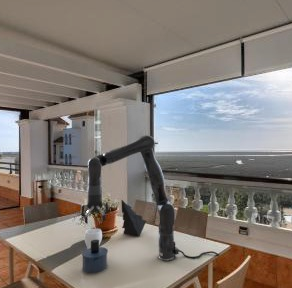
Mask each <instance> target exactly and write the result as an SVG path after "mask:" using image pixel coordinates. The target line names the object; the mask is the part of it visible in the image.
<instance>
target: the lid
mask: <svg viewBox="0 0 292 288" xmlns="http://www.w3.org/2000/svg"><path fill="white" fill-rule="evenodd" d="M108 252H109V250H108V249H107V248H106V247H103V246H100V245H99V240H92V241H91V248H89V249H85V250H84V251H82V252H81V256H82V258H83V257H85V258H98V257H101V256H104V255H106V254H107V255H108Z"/></svg>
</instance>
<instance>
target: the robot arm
mask: <svg viewBox="0 0 292 288" xmlns="http://www.w3.org/2000/svg"><path fill="white" fill-rule="evenodd" d="M155 144H156V141H155V138H154V137H152V136H151V135H148V134H146V135H142V136H140V137H139V138H138V139H137V140H136V141H133V142H132V143H128V144H126V145H123V146H120V147H117V148H114V149H111V150H109V151H106V152H104V153H101V154H99V155H96V156H93V157H91V158H89V160H88V161H87V169H88V173H87V174H88V177H87V204H81V210H80V216H81V217H84V224H86V225H88V221H89V220H88V216H89V215H90V214H91V213H98V212H100V213H101V222H102V223H104V222H105V220H106V215H108V214H109V204H108V202H107V201H106V202H103V189H102V188H103V187H102V168H103V167H105V166H107V165H111V164H113V163H117V162H119V161H122V160H124V159H125V158H128V157H130V156H132V155H135V154H138V153H140V154H141V157H142V160H143V163H144V168H145V172H146V176H147V179H148V183H149V185H150V188H151V191H152V193H153V195H154V200H155V204H156V209H157V213H158V214H159V224H158V259H160V260H161V261H163V262H168V261H172V260H174V259H176V255H179V253H181V254H182V255H183V257H185V258H187V259H198V258H199V259H200V258H201V257H202V256H203V255H207V254H214V255H216V256H220V254H218V252H216V251H213V250H212V251H203V252H201V253H200V254H199V255H196V256H190V255H187V254H185V253H184V251H183V250H181V249H179V248H178V247H177V246H176V241H175V224H176V210H175V206H174V204H172V203H171V202H170V200H169V198H168V195H167V191H166V181H165V177H164V174H163V170H162V168H161V165H160V163H159V162H158V161H157V158H156V156H155V153H154V147H155ZM102 207H103V208H104V210H103V209H102ZM86 208H87V211H86V212H85V210H86ZM222 279H223V280H224V277H223V276H221V278H220V280H222Z"/></svg>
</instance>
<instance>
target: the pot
mask: <svg viewBox="0 0 292 288" xmlns="http://www.w3.org/2000/svg"><path fill="white" fill-rule="evenodd" d="M107 267H108V253H107V254H106V255H104V256H101V257H98V258H85V257H83V256H82V272H84V273H86V274H97V273H101V272H103V271H105V270H106V269H107Z"/></svg>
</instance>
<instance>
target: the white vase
mask: <svg viewBox="0 0 292 288" xmlns="http://www.w3.org/2000/svg"><path fill="white" fill-rule="evenodd" d="M83 237H84V238H83V239H84V243H85V245H86V248H87V249H89V248H91V241H92V240H99V246H100V244H101V242H102V241H103V240H102V239H103V233H102V229H101V228H90V229H87V230H85V231H84V236H83ZM87 249H86V250H87Z"/></svg>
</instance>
